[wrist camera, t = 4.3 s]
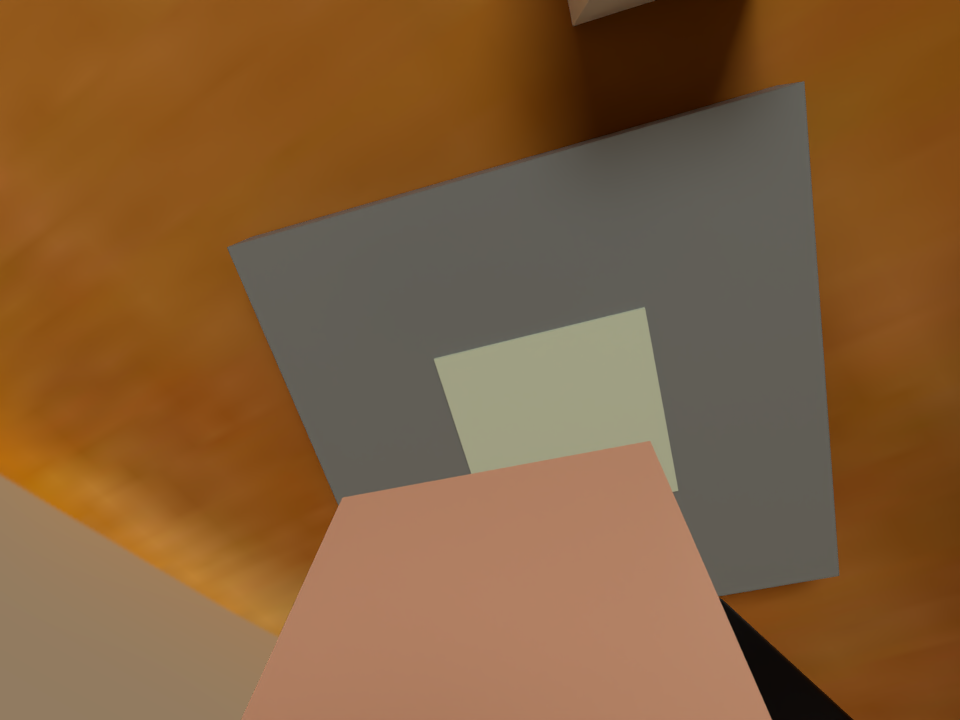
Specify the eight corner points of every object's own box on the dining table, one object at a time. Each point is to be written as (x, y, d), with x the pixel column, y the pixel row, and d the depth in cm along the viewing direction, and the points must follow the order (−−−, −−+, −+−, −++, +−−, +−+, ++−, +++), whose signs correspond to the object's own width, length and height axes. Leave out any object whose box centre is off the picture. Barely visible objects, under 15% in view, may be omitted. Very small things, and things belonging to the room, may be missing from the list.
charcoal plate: (777, 85, 15) (805, 81, 14) (816, 544, 20) (840, 577, 19) (249, 237, 17) (225, 248, 16) (408, 617, 22) (400, 652, 21)
